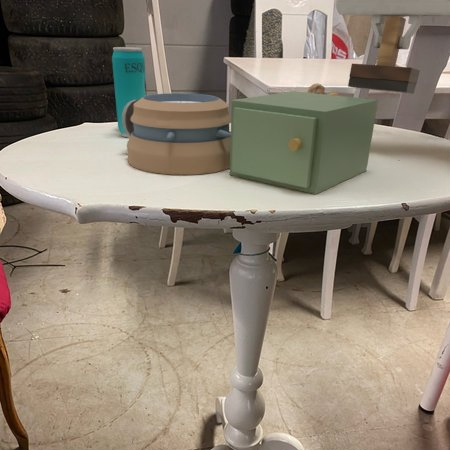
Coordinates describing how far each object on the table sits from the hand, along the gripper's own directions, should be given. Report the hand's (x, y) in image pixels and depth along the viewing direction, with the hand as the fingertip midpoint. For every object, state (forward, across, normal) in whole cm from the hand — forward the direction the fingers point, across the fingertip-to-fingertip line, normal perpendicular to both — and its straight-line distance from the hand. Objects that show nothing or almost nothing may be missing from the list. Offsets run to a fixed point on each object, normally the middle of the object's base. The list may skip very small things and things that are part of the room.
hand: (390, 48), depth 76 cm
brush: (+6, 0, +2) cm, 6 cm away
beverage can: (+16, +40, +21) cm, 48 cm away
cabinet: (+16, +2, +23) cm, 28 cm away
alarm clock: (+16, +22, +28) cm, 39 cm away
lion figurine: (+16, +18, -15) cm, 28 cm away
